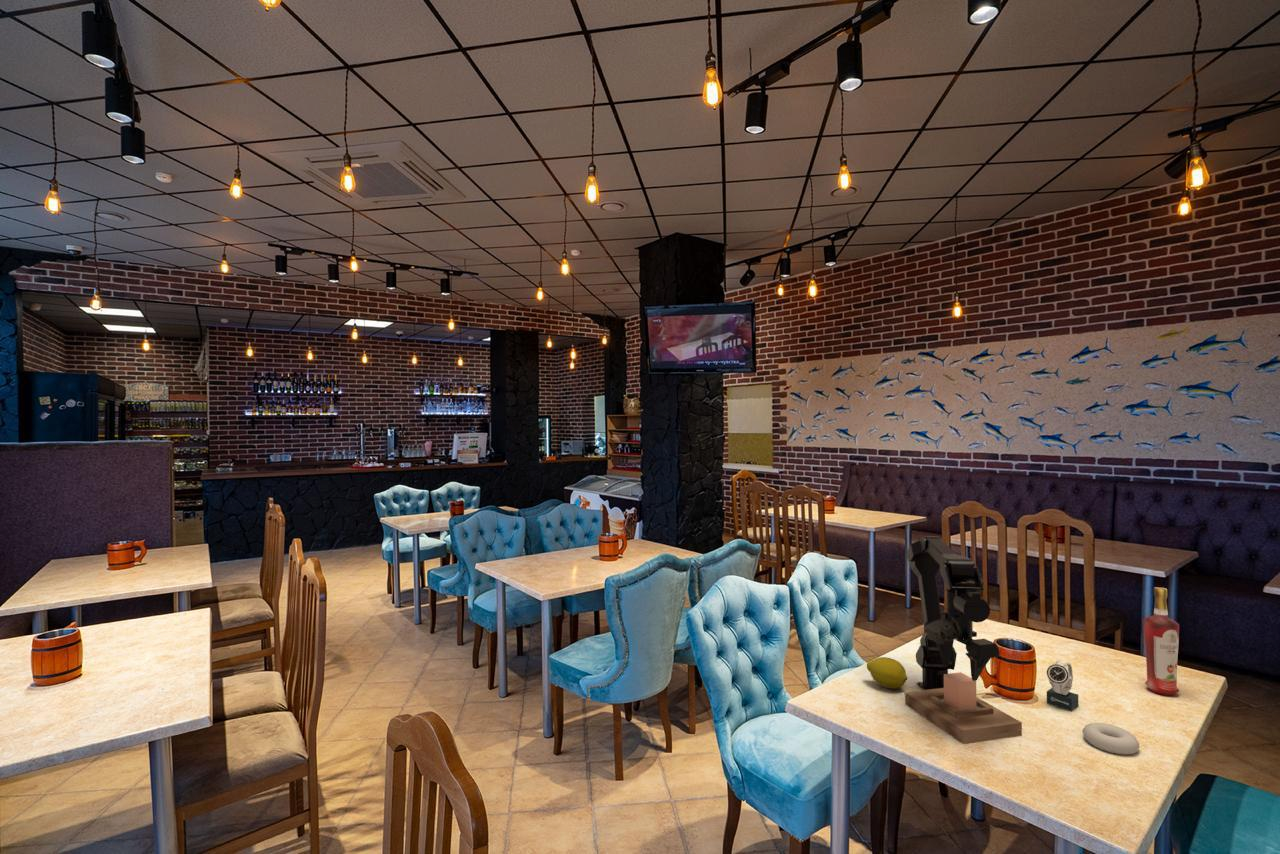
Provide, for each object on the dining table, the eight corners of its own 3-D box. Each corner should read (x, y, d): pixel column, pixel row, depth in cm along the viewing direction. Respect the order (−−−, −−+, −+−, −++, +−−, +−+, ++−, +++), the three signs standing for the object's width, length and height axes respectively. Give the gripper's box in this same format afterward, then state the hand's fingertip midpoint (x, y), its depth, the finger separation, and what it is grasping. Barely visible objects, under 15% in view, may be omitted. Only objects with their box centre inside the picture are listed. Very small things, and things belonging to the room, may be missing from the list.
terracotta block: (943, 702, 146) (943, 674, 146) (961, 700, 147) (960, 672, 147) (958, 711, 141) (958, 682, 141) (976, 709, 142) (976, 680, 142)
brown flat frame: (905, 703, 152) (905, 687, 152) (957, 697, 156) (957, 681, 156) (963, 743, 133) (963, 725, 133) (1021, 735, 136) (1021, 717, 136)
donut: (1071, 738, 136) (1116, 760, 126) (1071, 723, 136) (1116, 744, 126) (1104, 732, 138) (1151, 754, 128) (1104, 717, 138) (1150, 738, 129)
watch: (1043, 705, 151) (1043, 662, 151) (1056, 697, 156) (1056, 655, 156) (1069, 713, 146) (1068, 669, 146) (1081, 705, 151) (1081, 662, 151)
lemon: (913, 689, 161) (913, 660, 161) (899, 697, 156) (898, 667, 156) (877, 676, 169) (876, 649, 169) (862, 684, 164) (861, 655, 164)
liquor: (1165, 686, 162) (1164, 585, 162) (1187, 698, 154) (1186, 592, 154) (1137, 685, 162) (1135, 584, 162) (1157, 697, 155) (1156, 591, 155)
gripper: (905, 601, 152) (906, 661, 152) (959, 623, 133) (960, 692, 133) (942, 598, 154) (943, 657, 154) (1000, 620, 136) (1001, 687, 136)
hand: (959, 672), depth 144 cm, fingers open, 9 cm apart
